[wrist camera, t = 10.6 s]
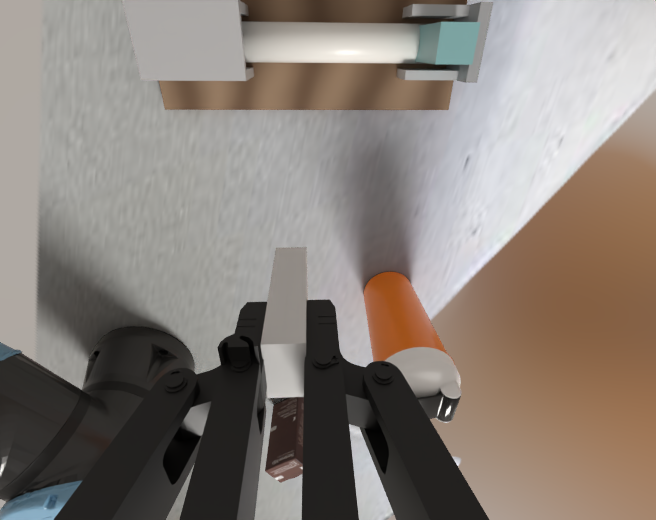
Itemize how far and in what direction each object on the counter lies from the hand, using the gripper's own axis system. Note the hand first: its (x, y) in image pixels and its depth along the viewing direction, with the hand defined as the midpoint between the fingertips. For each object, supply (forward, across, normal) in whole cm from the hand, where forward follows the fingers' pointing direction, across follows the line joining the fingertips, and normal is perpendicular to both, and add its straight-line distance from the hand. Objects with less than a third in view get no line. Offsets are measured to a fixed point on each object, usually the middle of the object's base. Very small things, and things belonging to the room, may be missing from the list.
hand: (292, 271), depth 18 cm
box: (+27, -3, -46) cm, 53 cm away
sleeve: (+25, -9, +10) cm, 29 cm away
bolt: (+25, +4, +10) cm, 27 cm away
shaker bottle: (+27, +12, -21) cm, 36 cm away
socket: (+25, +13, +10) cm, 30 cm away
